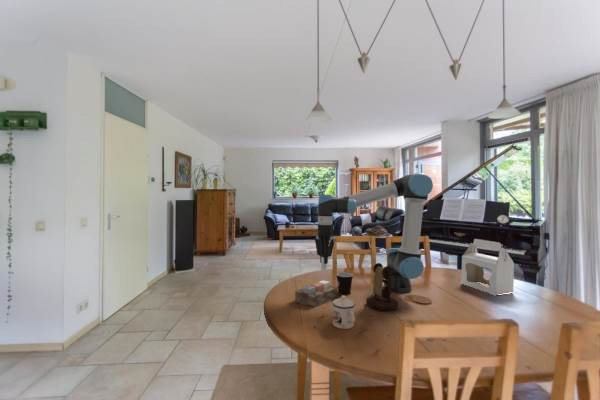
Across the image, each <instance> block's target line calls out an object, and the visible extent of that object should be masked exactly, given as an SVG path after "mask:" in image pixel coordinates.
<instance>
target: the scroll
mask: <svg viewBox="0 0 600 400" xmlns="http://www.w3.org/2000/svg"><path fill="white" fill-rule="evenodd" d="M372 268H373V269H372V270H373V273H374V276H373V283H372V284H373V287H372V291H373V294H374V295H370V296H367V298H366V299H365V301H366V304H367V305H368V306H370V307H373V308H375V309H379V312H382V310H393V309H398V307H399V301H398V300H397V299H396V298H393V296H392V293H393V291H392V289H391V287H390V286H391V285H392V282H391V275H392V269H391V267H389V266H387V265H386V266H385V267H384V266H383V264H382V263H381V262H377V263H375V264H374V265H373V267H372ZM385 279H386V280H385ZM387 279H388V281H387ZM384 282H385V283H386V284H387V285H388V286H385V287H384Z"/></svg>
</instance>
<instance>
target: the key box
mask: <svg viewBox="0 0 600 400" xmlns="http://www.w3.org/2000/svg"><path fill="white" fill-rule="evenodd" d="M335 299H338V287H336V286H331V285H330V287H329V288H326V289H323V290H321V291H318V292H317V291H315V293H313V294H310V295H309V294H306V293H303V288H300V289H298V290H295V291H294V301H295V302H296V303H299V304H302V305H305V306H308V307H310V308H313V309H314V308H316V307H319V306H322V305H323V304H325V303H328V302H330V301H334V300H335Z"/></svg>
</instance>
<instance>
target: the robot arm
mask: <svg viewBox="0 0 600 400" xmlns="http://www.w3.org/2000/svg"><path fill="white" fill-rule="evenodd" d="M433 187H434V183H433V181H432V178H431V177H430V176H429V175H427V174H425V173H422V172H421V173H420V172H419V173H417V172H416V173H412V174H407V175H406V174H405V175H404V176H402V177H400V178H397V179H395V180H390V182H389V183H387V184H384V185H380V186H377V187H374V188H371V189H367V190H363V191H361V192H356V193H354V194H350V195H347V196H344V197H340V198H339V197H338V198H336V197H335V198H334V195H333V194H319V196H318V203H317V205H318V208H317V209H318V210H317V212H318V213H317V235H316V236H313V239H314V242H315V249H316V255H317V256H319V257H320V259H319V260H320V261H319V262H320V270H321V271H326V270H327V264H328V261H329V258H330V257H331V256H332V255H333V254H332V253H333V250H334V245H335V242H337V239H336V238H334V237H333V234H332V233H333V217H334V216H333V214H348V215H349V214H355V213H356V212H357V208H360V207H362V206H366V205H369V204H372V203H377V202H379V201H383V200H386V199H389V198H395V199H396V198H400V197H403V200H404V201H405V209H404V219H403V228H402V237H401V246H400V247H390V248H388V249H387V256H386V257H387V259H386V260H387V261H386V263H387V265H386V266H389V267H391V269H392V275H391V282H392V285H391V286H390V287H391V289H392V293H401V294H402V293H403V294H404V293H410V292H411V291H413V290H412V289H413V288H412V287H413V285H412V283H411V280H414V279H417V278H419V277H420V276H422V274H423V272H424V269H425V268H424V263H423V261H422V252H421V251H420V250H419V248H420V240H421V232H422V220H423V215H424V214H423V213H424V204H425V203H426V202H427V201H428V198H429V194H431V192H432V190H433ZM384 280H386V279H384ZM387 281H388V279H387ZM385 286H388V285H387V284H386V283H385V282H384V283H383V288H384V287H385Z"/></svg>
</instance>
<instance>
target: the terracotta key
mask: <svg viewBox="0 0 600 400" xmlns="http://www.w3.org/2000/svg"><path fill="white" fill-rule="evenodd" d="M310 286H313V287H315V291H317V292H318V291H321V290H323V284H319V283H318V282H315V283H311V284H310Z"/></svg>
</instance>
